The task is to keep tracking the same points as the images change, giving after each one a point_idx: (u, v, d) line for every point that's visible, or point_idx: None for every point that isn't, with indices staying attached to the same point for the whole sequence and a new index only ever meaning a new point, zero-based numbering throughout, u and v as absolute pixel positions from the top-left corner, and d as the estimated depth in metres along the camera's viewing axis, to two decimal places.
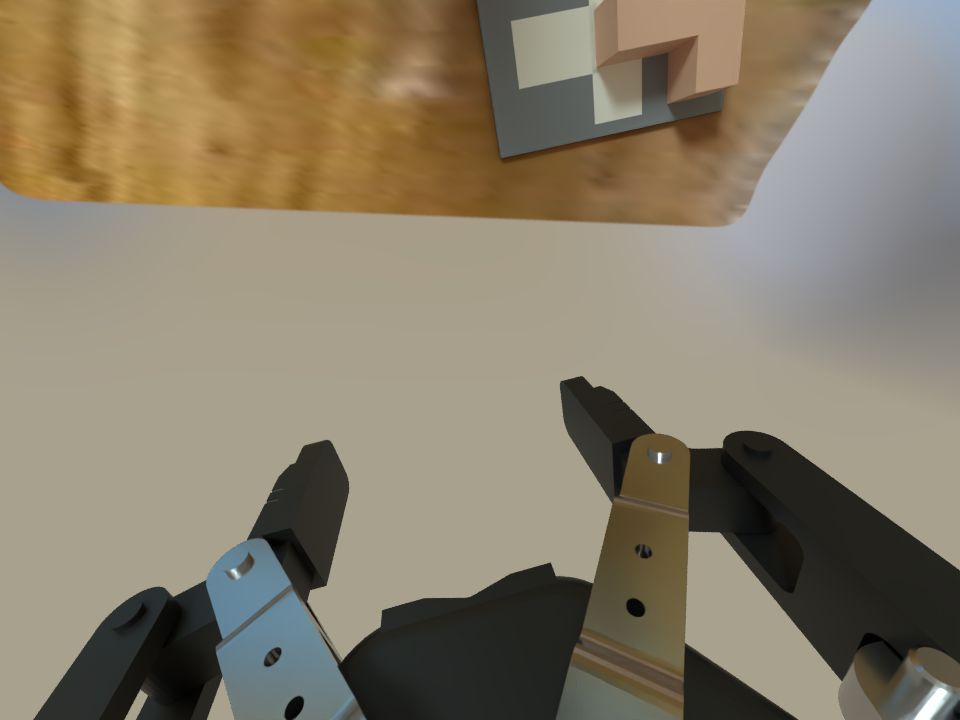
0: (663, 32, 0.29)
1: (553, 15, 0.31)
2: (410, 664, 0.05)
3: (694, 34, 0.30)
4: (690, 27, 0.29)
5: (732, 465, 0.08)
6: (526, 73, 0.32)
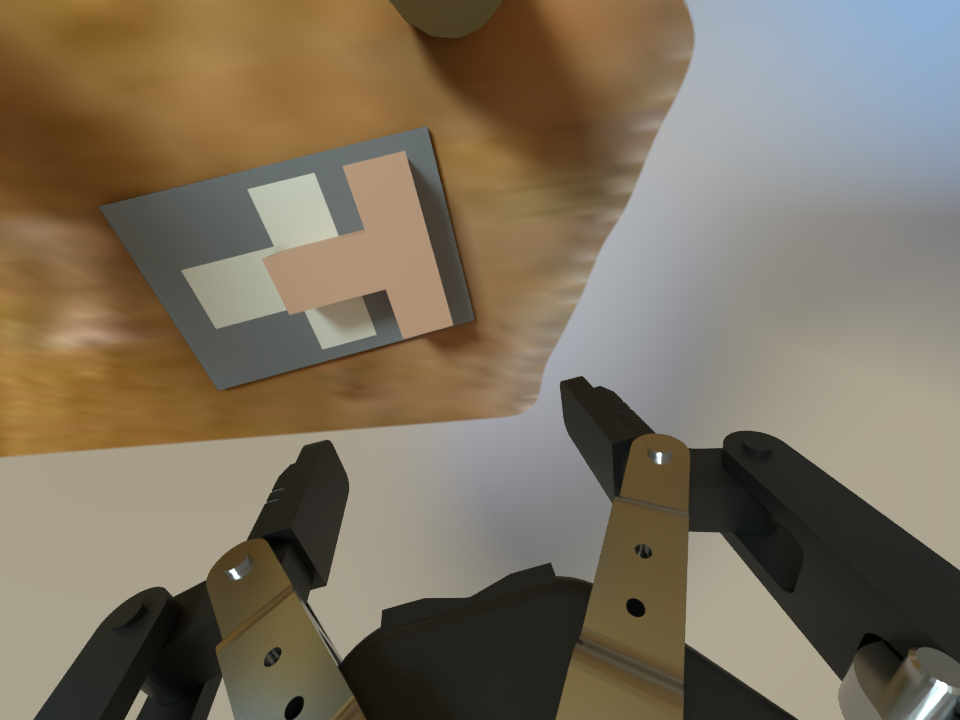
0: (339, 292, 0.25)
1: (232, 259, 0.27)
2: (410, 664, 0.05)
3: (381, 288, 0.26)
4: (372, 284, 0.25)
5: (732, 465, 0.08)
6: (219, 314, 0.28)
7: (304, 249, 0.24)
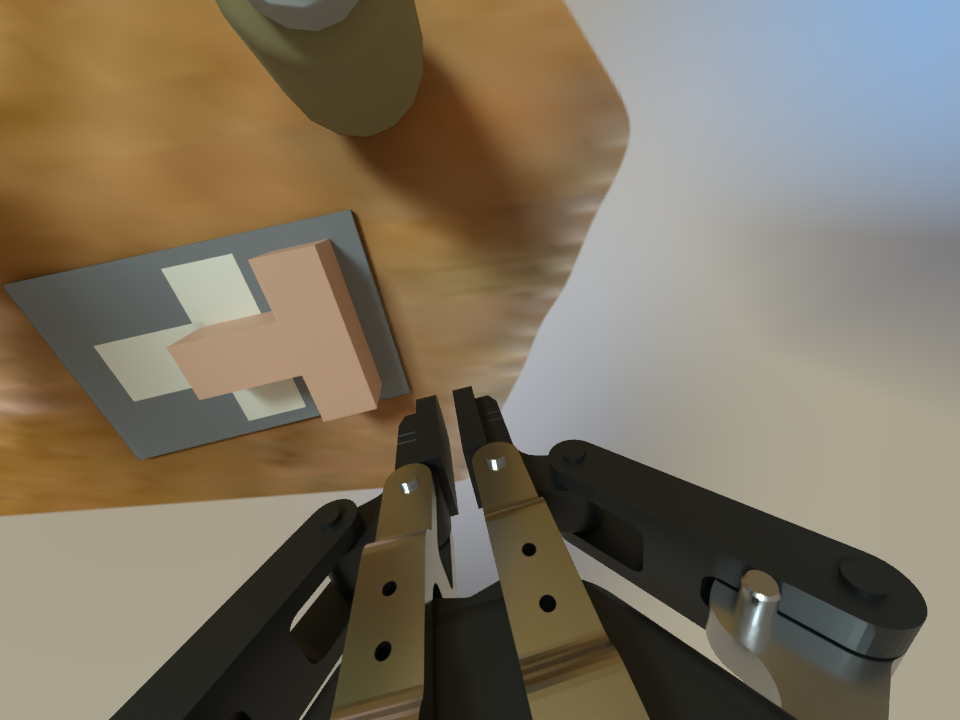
0: (252, 378, 0.24)
1: (148, 335, 0.26)
2: None
3: (297, 374, 0.25)
4: (287, 370, 0.25)
5: (564, 480, 0.08)
6: (137, 387, 0.27)
7: (211, 338, 0.23)
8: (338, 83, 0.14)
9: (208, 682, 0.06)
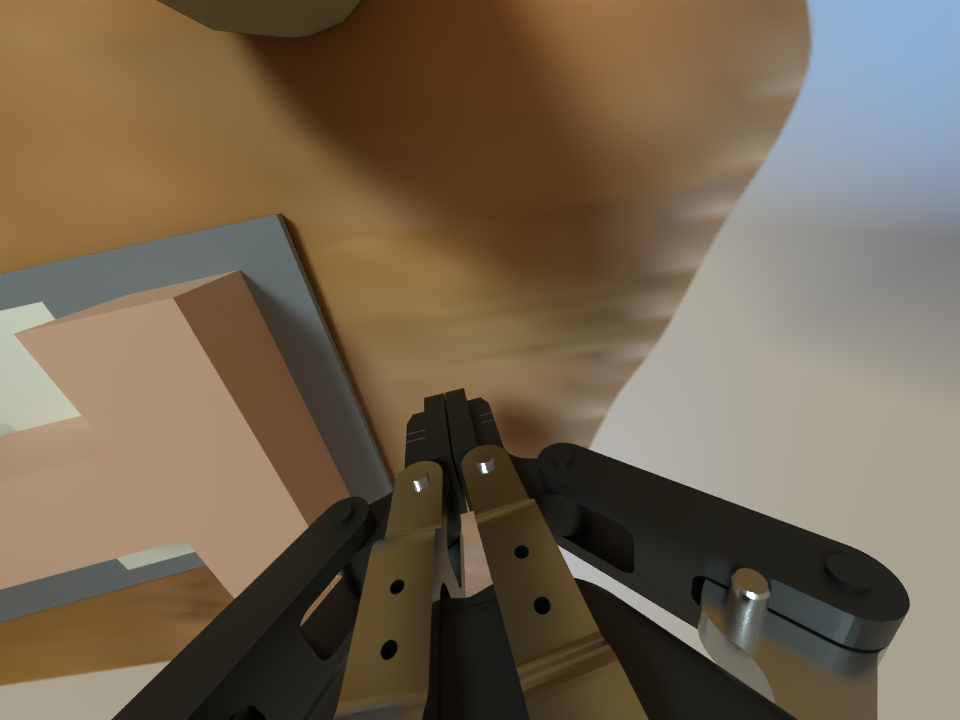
0: (82, 552, 0.12)
1: None
2: None
3: (175, 538, 0.13)
4: (153, 533, 0.12)
5: (554, 484, 0.08)
6: None
7: None
8: None
9: (219, 675, 0.06)
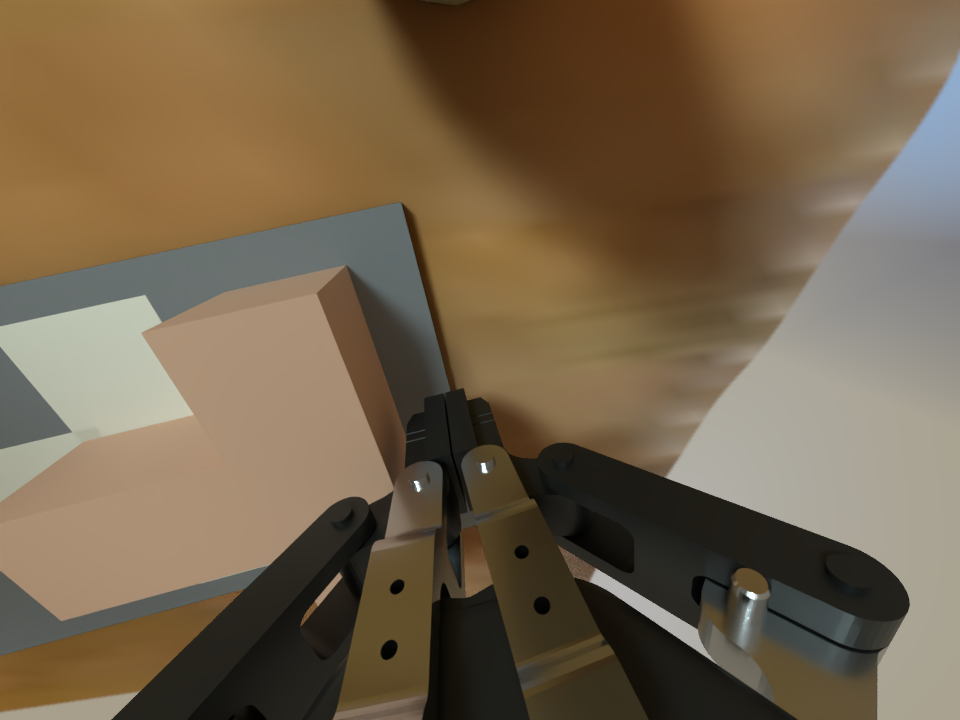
0: (179, 574, 0.11)
1: None
2: None
3: None
4: (256, 553, 0.11)
5: (554, 484, 0.08)
6: None
7: (70, 508, 0.10)
8: None
9: (219, 675, 0.06)
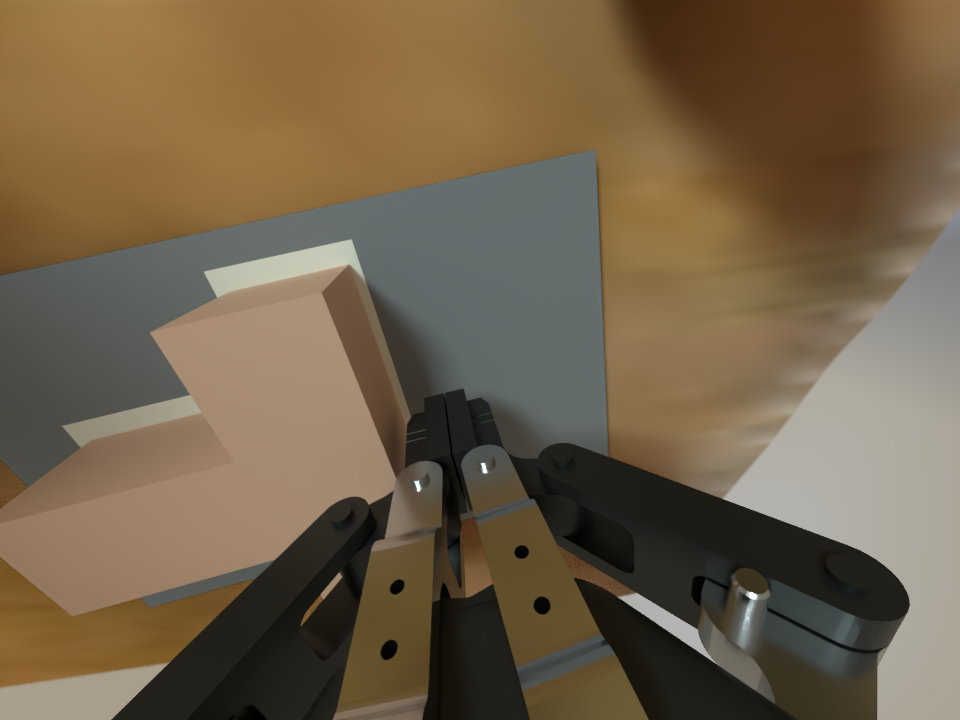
0: (187, 569, 0.11)
1: (173, 403, 0.13)
2: None
3: None
4: (263, 548, 0.12)
5: (553, 484, 0.08)
6: None
7: (80, 505, 0.10)
8: None
9: (219, 675, 0.06)
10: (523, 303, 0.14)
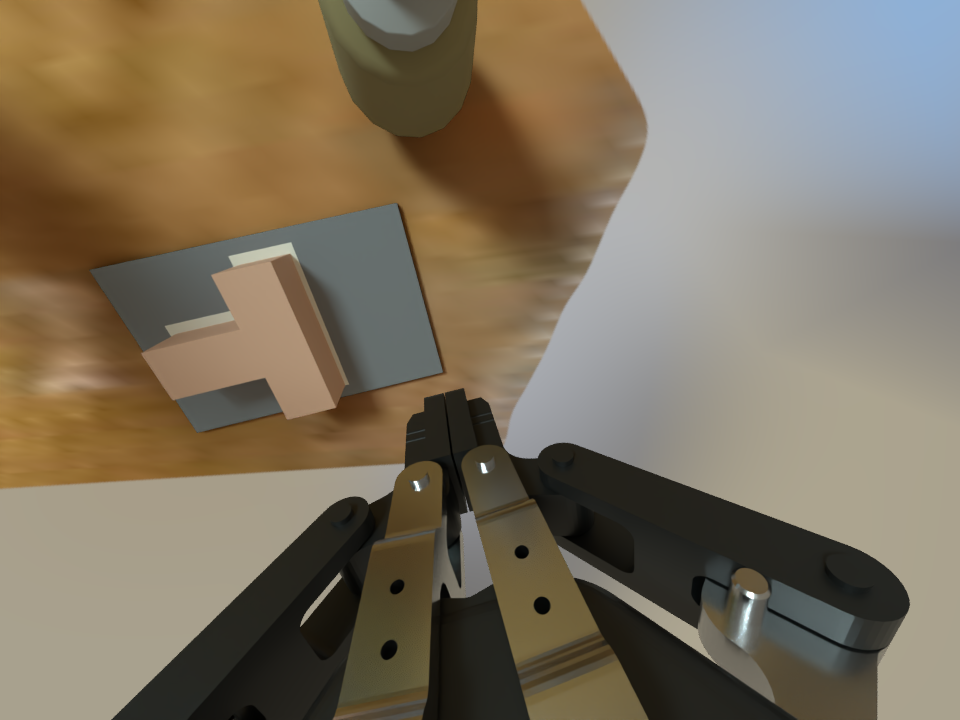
0: (220, 380, 0.27)
1: (213, 317, 0.29)
2: None
3: (260, 377, 0.27)
4: (251, 373, 0.27)
5: (554, 484, 0.08)
6: None
7: (181, 344, 0.26)
8: (418, 92, 0.16)
9: (219, 675, 0.06)
10: (375, 272, 0.29)
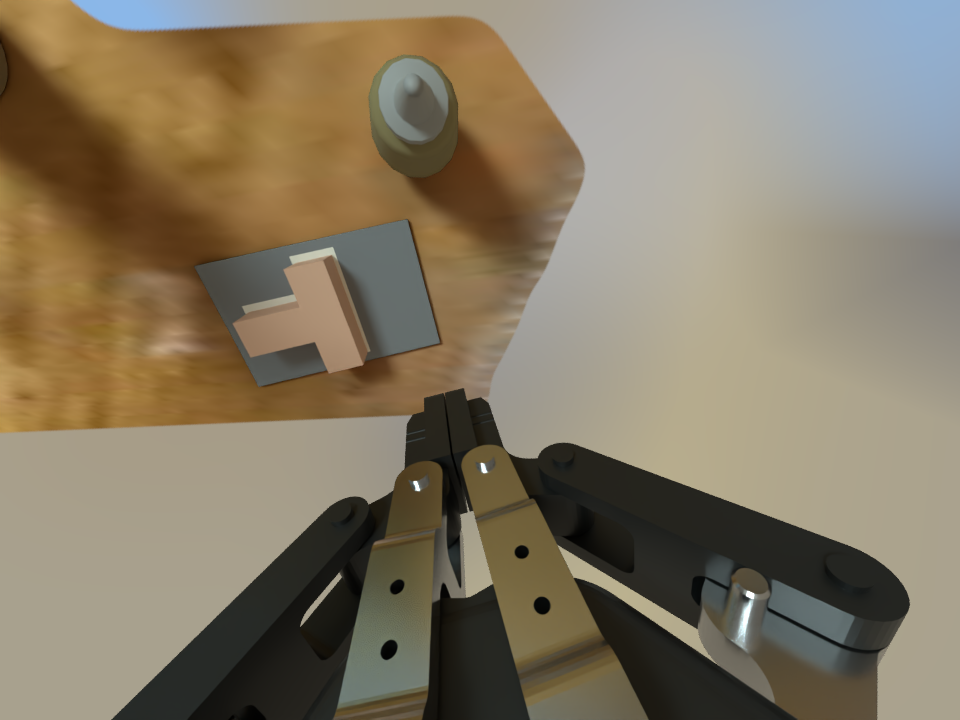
0: (284, 343, 0.39)
1: (276, 300, 0.41)
2: None
3: (311, 341, 0.39)
4: (305, 338, 0.39)
5: (554, 484, 0.08)
6: None
7: (260, 317, 0.37)
8: (424, 162, 0.28)
9: (219, 675, 0.06)
10: (391, 268, 0.41)
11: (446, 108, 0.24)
